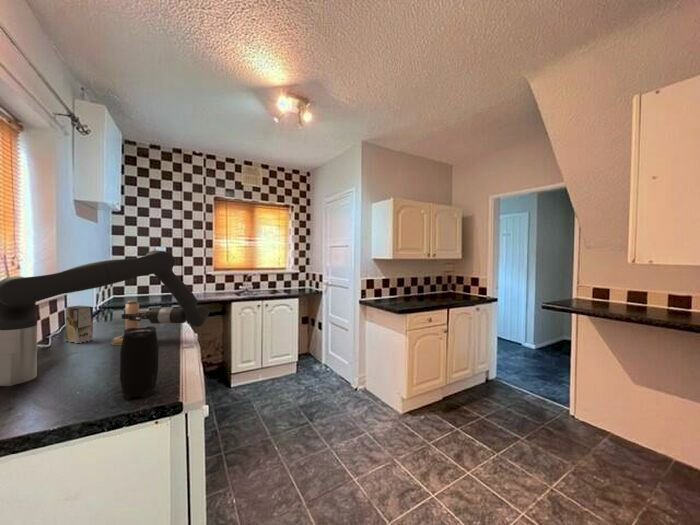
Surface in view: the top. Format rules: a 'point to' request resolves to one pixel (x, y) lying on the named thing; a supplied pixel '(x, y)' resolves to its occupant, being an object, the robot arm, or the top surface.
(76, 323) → the coffee box
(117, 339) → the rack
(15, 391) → the top surface
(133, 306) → the jar
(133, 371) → the portable speaker
